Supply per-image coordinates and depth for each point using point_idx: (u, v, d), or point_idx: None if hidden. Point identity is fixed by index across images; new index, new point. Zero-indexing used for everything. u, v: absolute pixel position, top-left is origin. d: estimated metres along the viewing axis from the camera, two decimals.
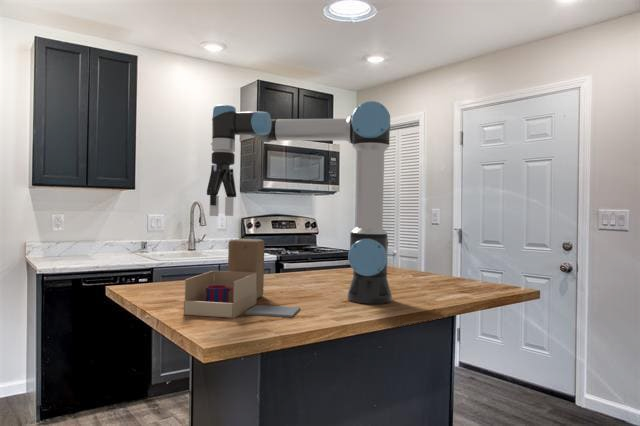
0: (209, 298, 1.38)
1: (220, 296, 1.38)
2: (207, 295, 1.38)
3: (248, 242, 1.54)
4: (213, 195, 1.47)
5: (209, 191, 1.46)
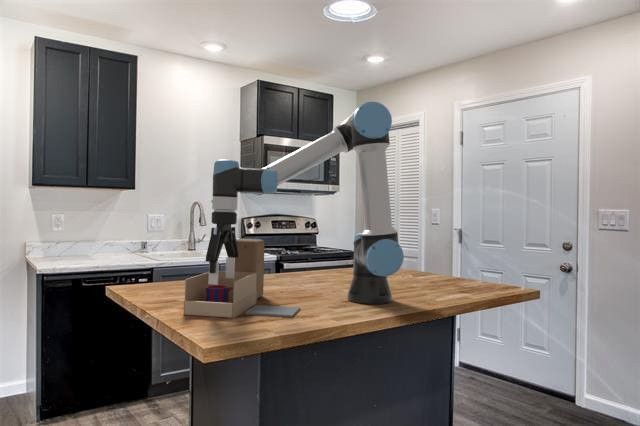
0: (209, 297, 1.38)
1: (220, 296, 1.38)
2: (207, 295, 1.38)
3: (248, 242, 1.54)
4: (213, 262, 1.33)
5: (208, 258, 1.31)
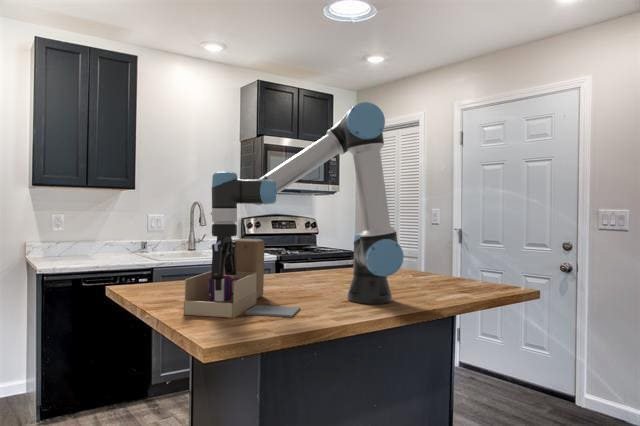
0: (212, 288, 1.38)
1: None
2: (210, 286, 1.39)
3: (248, 242, 1.54)
4: (218, 279, 1.36)
5: (214, 277, 1.34)
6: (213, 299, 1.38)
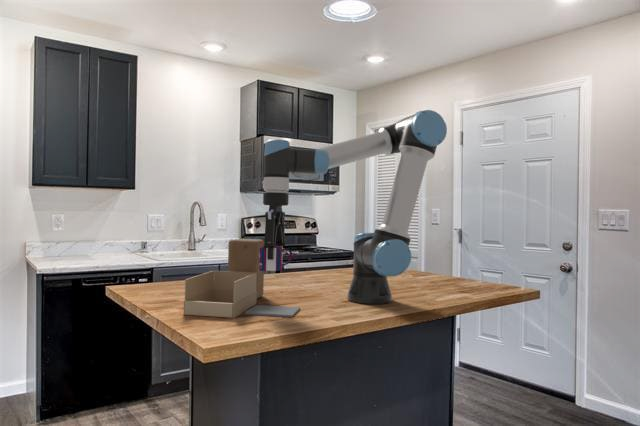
0: (263, 257, 1.36)
1: None
2: (261, 255, 1.36)
3: (248, 242, 1.54)
4: (271, 248, 1.33)
5: (267, 245, 1.32)
6: (264, 269, 1.36)
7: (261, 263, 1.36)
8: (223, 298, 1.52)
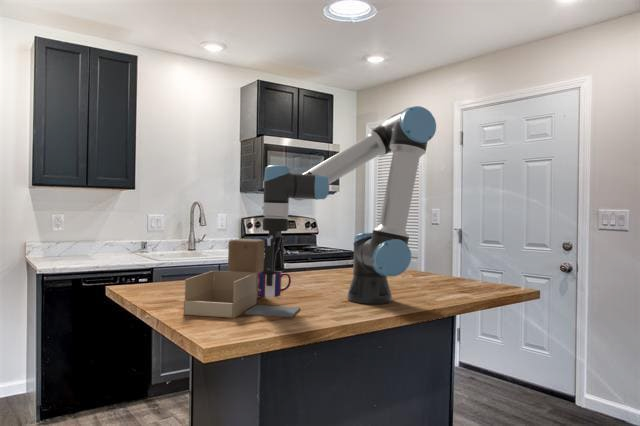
0: (262, 283, 1.36)
1: None
2: (260, 281, 1.36)
3: (248, 242, 1.54)
4: (270, 275, 1.33)
5: (266, 272, 1.32)
6: (263, 294, 1.35)
7: (260, 289, 1.36)
8: (223, 298, 1.52)
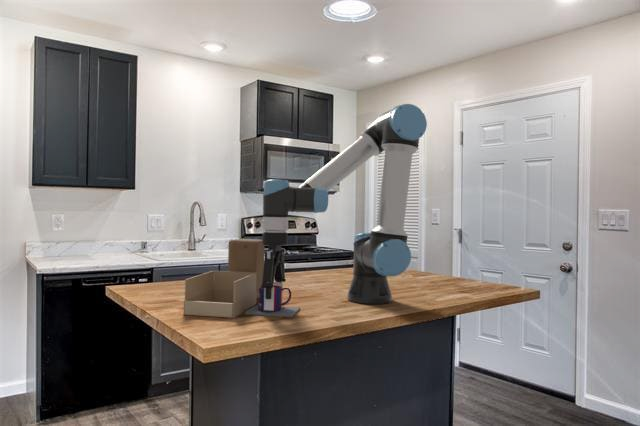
0: (262, 298, 1.36)
1: (274, 296, 1.36)
2: (260, 295, 1.36)
3: (248, 242, 1.54)
4: (269, 288, 1.32)
5: (265, 285, 1.30)
6: (263, 309, 1.36)
7: (260, 303, 1.36)
8: (223, 298, 1.52)
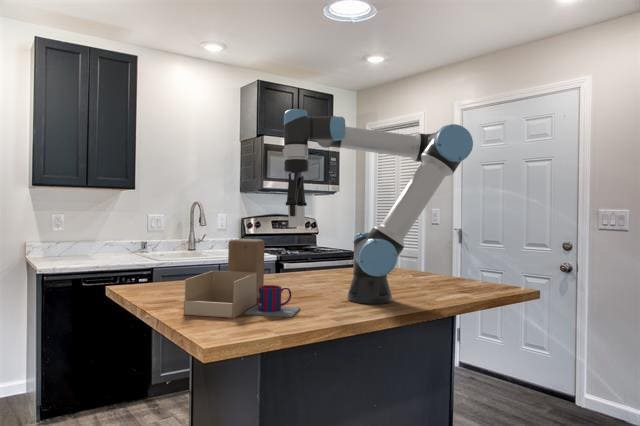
0: (262, 298, 1.36)
1: (274, 296, 1.36)
2: (260, 295, 1.36)
3: (248, 242, 1.54)
4: (293, 205, 1.39)
5: (289, 201, 1.37)
6: (263, 309, 1.36)
7: (260, 303, 1.36)
8: (223, 298, 1.52)
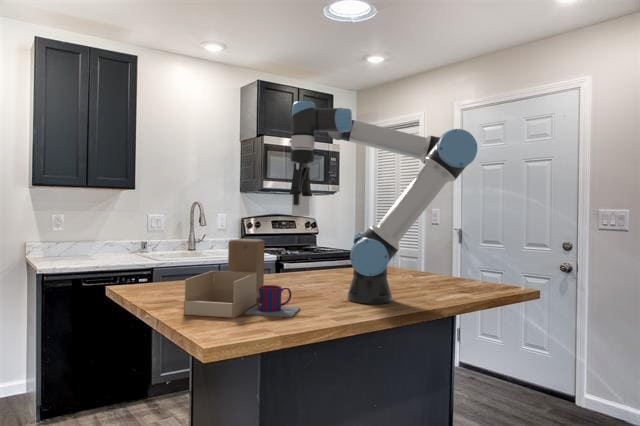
0: (262, 298, 1.36)
1: (274, 296, 1.36)
2: (260, 295, 1.36)
3: (248, 242, 1.54)
4: (296, 194, 1.42)
5: (293, 190, 1.41)
6: (263, 309, 1.36)
7: (260, 303, 1.36)
8: (223, 298, 1.52)
